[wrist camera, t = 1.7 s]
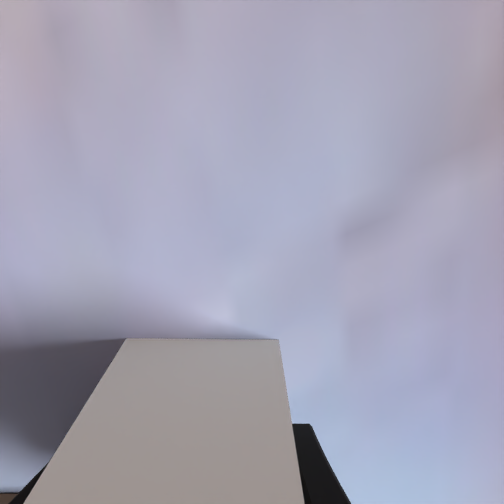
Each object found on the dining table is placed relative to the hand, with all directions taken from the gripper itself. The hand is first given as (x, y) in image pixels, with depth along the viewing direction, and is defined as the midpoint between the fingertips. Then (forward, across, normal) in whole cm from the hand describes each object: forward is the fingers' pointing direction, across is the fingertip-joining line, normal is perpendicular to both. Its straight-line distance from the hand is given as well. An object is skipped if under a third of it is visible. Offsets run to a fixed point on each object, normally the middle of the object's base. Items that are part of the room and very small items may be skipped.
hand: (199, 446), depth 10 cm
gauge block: (+2, 0, 0) cm, 2 cm away
